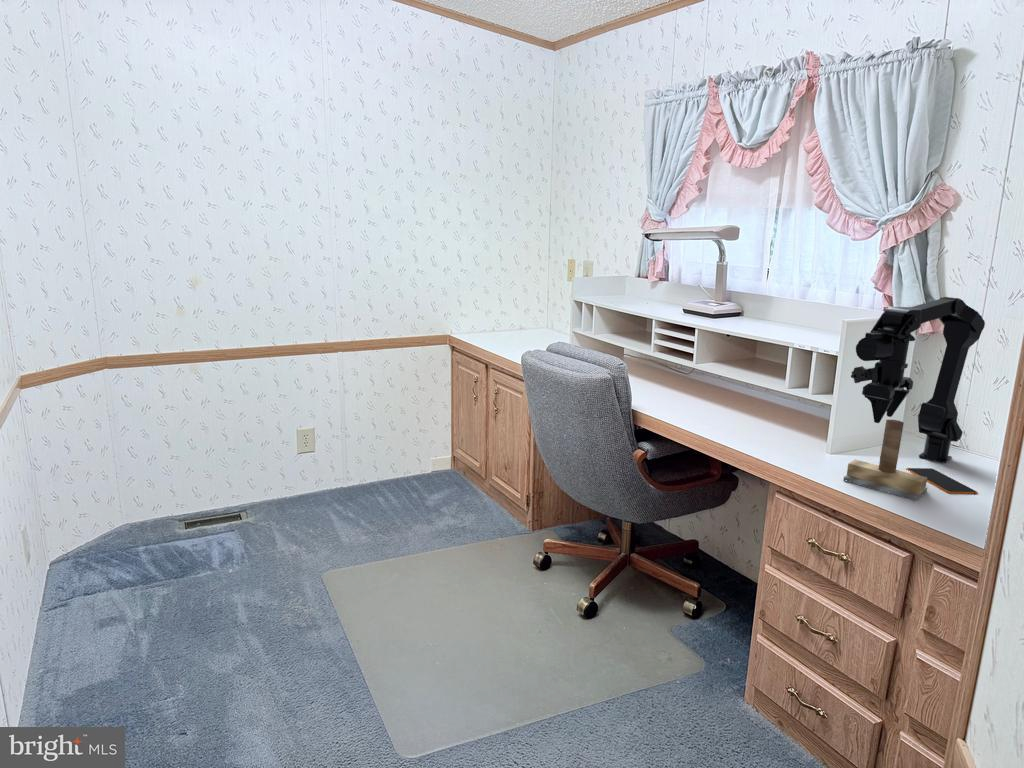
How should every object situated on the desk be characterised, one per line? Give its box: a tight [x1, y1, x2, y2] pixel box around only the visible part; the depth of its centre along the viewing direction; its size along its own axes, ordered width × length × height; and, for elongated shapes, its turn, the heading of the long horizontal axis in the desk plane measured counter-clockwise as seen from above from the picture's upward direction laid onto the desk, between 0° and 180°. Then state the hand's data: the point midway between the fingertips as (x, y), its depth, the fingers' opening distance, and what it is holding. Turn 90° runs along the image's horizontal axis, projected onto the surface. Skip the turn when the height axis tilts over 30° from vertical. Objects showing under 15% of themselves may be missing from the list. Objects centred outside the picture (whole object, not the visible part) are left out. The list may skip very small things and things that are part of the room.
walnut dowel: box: [878, 419, 904, 473], centre depth 160 cm, size 4×4×12 cm
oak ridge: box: [842, 459, 928, 501], centre depth 162 cm, size 16×8×4 cm, turn 44°
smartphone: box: [905, 467, 979, 495], centre depth 167 cm, size 8×17×1 cm, turn 3°
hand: (883, 419), depth 172 cm, fingers open, 9 cm apart
